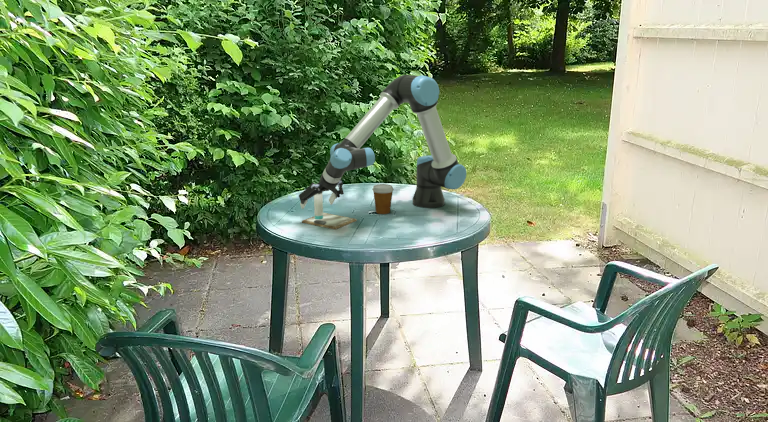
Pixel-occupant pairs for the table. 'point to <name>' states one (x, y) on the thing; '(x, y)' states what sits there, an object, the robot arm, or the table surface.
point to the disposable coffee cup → (383, 198)
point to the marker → (318, 205)
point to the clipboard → (330, 221)
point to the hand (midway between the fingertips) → (316, 204)
